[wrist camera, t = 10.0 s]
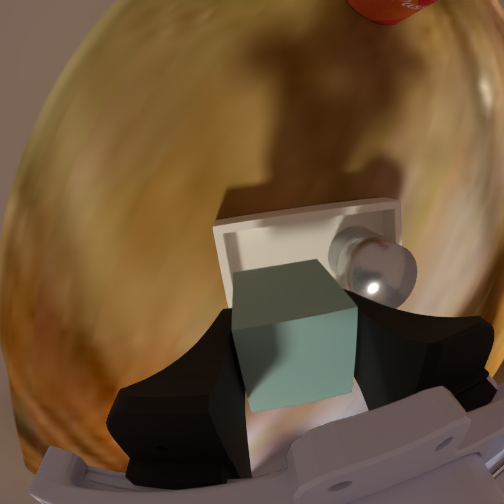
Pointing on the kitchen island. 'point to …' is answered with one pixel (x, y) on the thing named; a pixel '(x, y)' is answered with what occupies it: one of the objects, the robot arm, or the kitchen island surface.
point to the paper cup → (388, 9)
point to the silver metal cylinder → (372, 266)
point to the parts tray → (297, 234)
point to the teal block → (293, 334)
